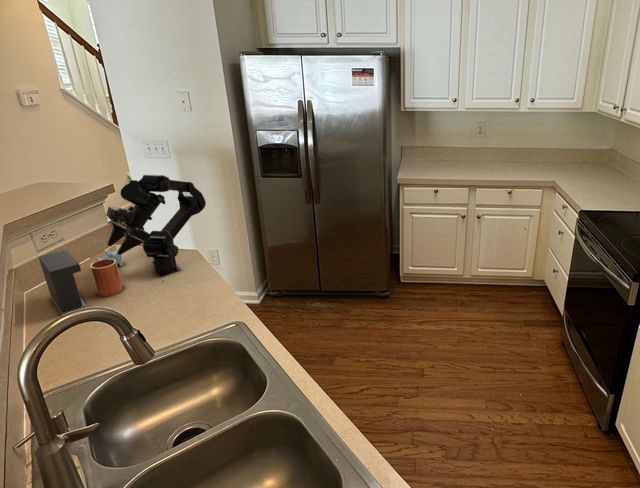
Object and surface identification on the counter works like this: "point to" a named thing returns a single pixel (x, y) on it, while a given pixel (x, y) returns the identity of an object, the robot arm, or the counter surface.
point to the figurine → (112, 257)
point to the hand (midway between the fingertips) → (113, 249)
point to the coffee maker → (62, 280)
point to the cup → (106, 277)
